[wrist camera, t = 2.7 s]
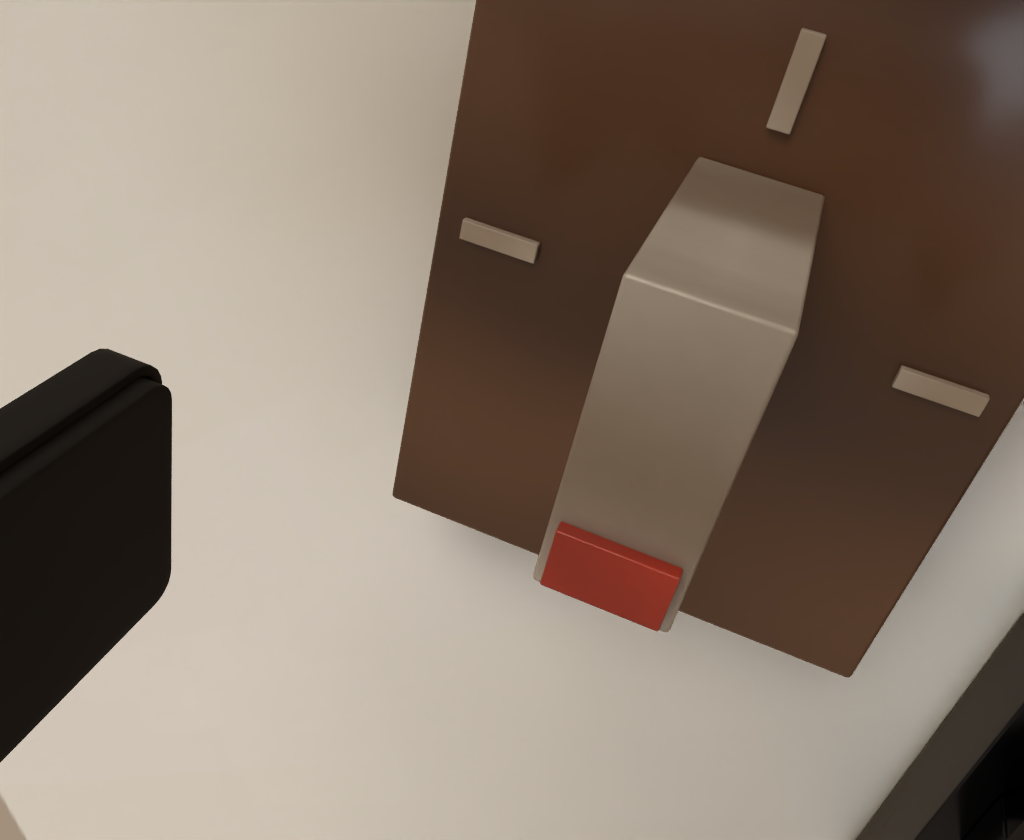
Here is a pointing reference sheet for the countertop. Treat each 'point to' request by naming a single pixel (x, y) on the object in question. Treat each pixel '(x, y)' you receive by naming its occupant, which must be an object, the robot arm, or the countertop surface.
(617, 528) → the bar knob
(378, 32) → the countertop surface
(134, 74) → the countertop surface
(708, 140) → the dial panel
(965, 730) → the button box
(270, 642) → the countertop surface
